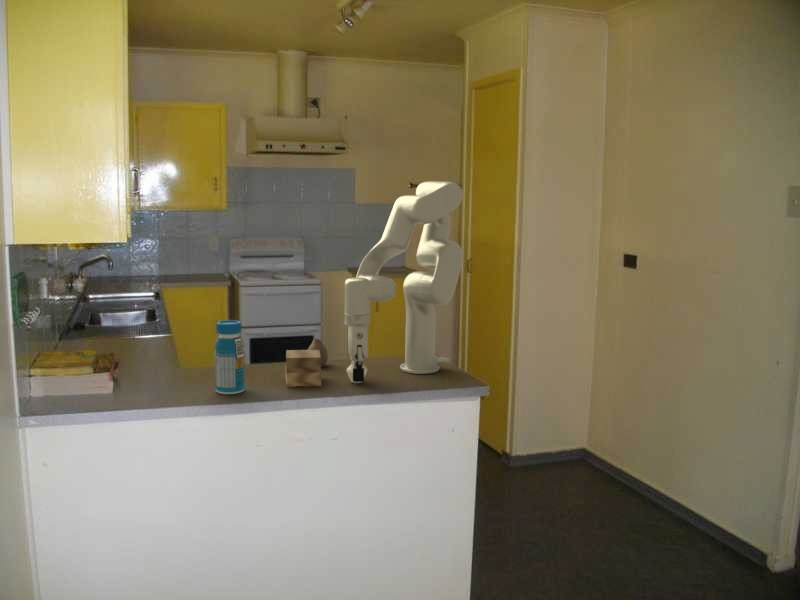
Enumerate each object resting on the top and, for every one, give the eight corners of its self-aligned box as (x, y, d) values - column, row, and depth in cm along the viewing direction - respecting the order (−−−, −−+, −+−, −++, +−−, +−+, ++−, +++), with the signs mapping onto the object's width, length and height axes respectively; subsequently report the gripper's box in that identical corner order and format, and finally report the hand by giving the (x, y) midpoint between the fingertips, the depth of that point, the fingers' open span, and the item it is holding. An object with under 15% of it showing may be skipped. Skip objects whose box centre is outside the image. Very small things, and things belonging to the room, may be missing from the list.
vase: (324, 369, 242) (324, 342, 241) (303, 367, 243) (303, 341, 242) (330, 364, 249) (330, 338, 247) (310, 362, 250) (310, 336, 249)
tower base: (318, 378, 233) (318, 363, 232) (321, 386, 223) (321, 372, 222) (285, 379, 231) (285, 364, 230) (286, 388, 221) (286, 373, 220)
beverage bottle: (217, 396, 210) (216, 325, 207) (212, 388, 218) (210, 320, 215) (248, 393, 214) (247, 323, 210) (241, 385, 221) (240, 318, 218)
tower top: (319, 364, 232) (319, 349, 231) (320, 372, 222) (320, 357, 221) (286, 364, 230) (286, 350, 229) (286, 373, 220) (286, 358, 220)
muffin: (365, 378, 231) (365, 356, 230) (368, 384, 225) (368, 361, 224) (345, 379, 230) (345, 357, 229) (347, 384, 224) (347, 361, 223)
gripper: (374, 324, 217) (373, 385, 220) (365, 314, 234) (364, 370, 237) (348, 325, 216) (347, 386, 218) (341, 314, 232) (340, 371, 235)
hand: (356, 377), depth 228 cm, fingers closed on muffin, 6 cm apart
